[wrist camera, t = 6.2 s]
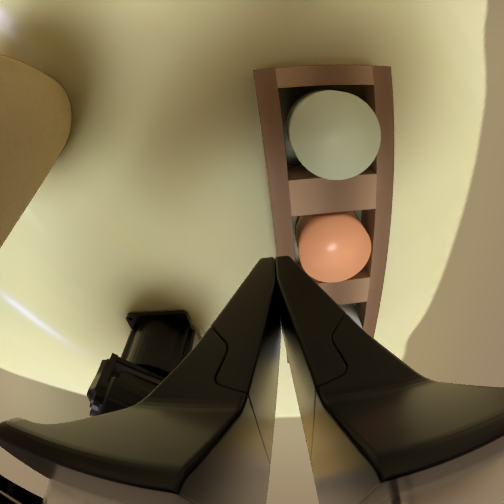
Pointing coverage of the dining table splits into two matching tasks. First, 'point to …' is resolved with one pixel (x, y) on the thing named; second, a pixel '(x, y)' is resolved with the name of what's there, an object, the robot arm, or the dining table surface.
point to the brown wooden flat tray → (333, 191)
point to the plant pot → (27, 135)
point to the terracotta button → (332, 245)
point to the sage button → (333, 133)
